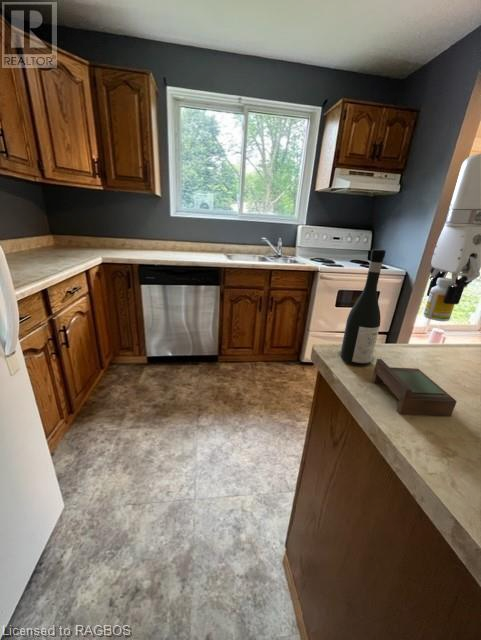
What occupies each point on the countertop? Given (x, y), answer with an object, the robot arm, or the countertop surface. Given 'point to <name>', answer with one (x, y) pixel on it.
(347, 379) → the countertop surface
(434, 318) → the supplement bottle
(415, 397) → the wooden jewelry box
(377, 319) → the wine bottle
